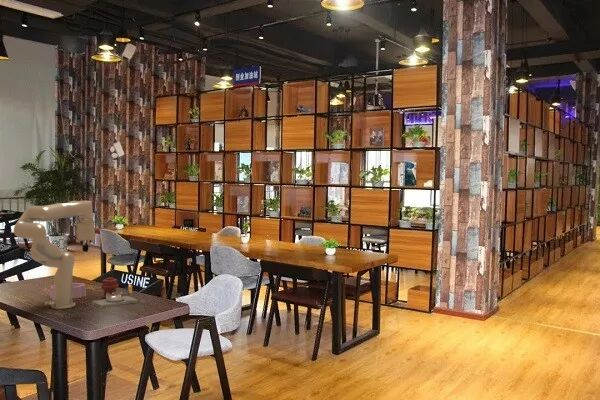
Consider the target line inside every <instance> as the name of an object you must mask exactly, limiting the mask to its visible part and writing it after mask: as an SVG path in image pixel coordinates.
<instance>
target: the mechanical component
mask: <svg viewBox="0 0 600 400" xmlns="http://www.w3.org/2000/svg"><path fill="white" fill-rule="evenodd" d="M119 285H120V284H118V279H117V278H114V277H107V278H103V280H102V284H101V285H100V287H101V289H103V297H105V298H106V293H109V294H112V292H116V293H117V288H119Z"/></svg>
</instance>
